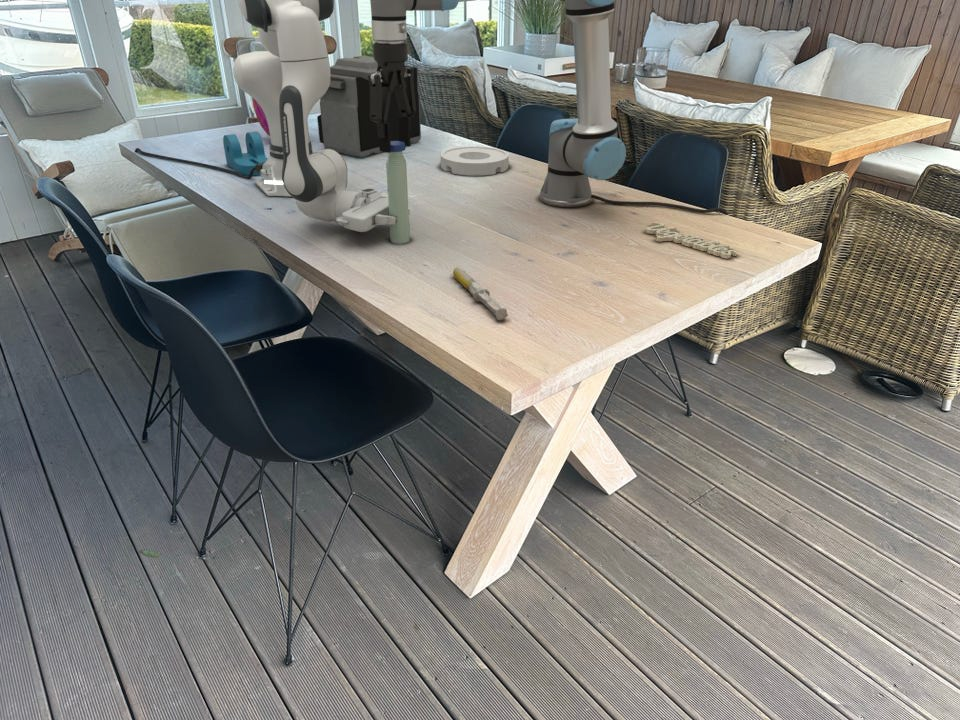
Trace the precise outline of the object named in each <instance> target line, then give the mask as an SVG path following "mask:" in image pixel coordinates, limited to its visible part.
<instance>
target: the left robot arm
mask: <svg viewBox="0 0 960 720" xmlns="http://www.w3.org/2000/svg"><path fill="white" fill-rule="evenodd" d="M237 4H238V7H239V10H240V12H241V14H242V15H243V17H244V19H245V21H246V22H247V23H249V24H250V25H251V26H252V27H254V28H257V35H258V40H259V42H260V43H261V45H262V46H263V47H264V49H265V50H259V51H258V50H256V51H250V52H246V53H242V54H239V55H238V56H237V57H236V58H235V60H234V62H233V66H232V75H233V78H234V81H235V83H236V85H237V86H238V88H239V89H240V90H241V91H243V92H244V93H246V94H247V95H248V96H250V97H251V98H252V97H253V98H254V99H255V100H256V101H257V102H258V104H259V105H260V106H261V108H262V110H263V111H264V114H265V116H266V119H267V123H268V127H269V132H270V136H269V137H270V142H269V143H268V145H269V146H268V147H269V157H267V158H268V159H267V161H266V162H262V163H259V164H255V165H256V167H254V168H252V170H251V172H250V175H243V174H240V173H238V172H237V171H235V170H233V169H228V168H225V167H220V166H217V165H212V164H207V163H204V162H198V161H193V160H187V159H182V158H177V157H171V156H167V155H166V156H165V155H160V154H156V153H151V152H148V151H142V149H141V148H139V147H136V148H135V150H134V153H140V154H142V155H144V156H150V157H152V158H153V157H154V158H158V159H164V160H168V161H175V162H179V163H186V164H190V165H195V166H201V167H205V168H210V169H214V170H218V171H221V172H225V173H230V174H232V175H236V176H238V177H240V178H241V179H242V178H243V179H246V180H250V179H251V178H253V176H254V175H253V172H254V171H255V170H256V172H257V173H260V174H261V175H260V177H261V178H260V179H257V180H255V183H256V186H257V187H259V189H260V190H261V191H262V192H263V193H264V194H265V195H266V196H268V197H292V198H294V199H295V202H296V206H297V209H298V210H299V212H301V214H303V215H304V216H306V217H308V218H310V219H314V220H317V221H321V222H327V223H333V222H335V223H336V224H339V225H342V226H343V228H345V229H346V230H347V229H348V230H349V231H355V232H360V233H365V232H369V231H370V230H372V229H373V228H375V227H377V226H378V225H390V224H395V223H397V216H393V215H390V216H389V204H388V191H378V190H377V188H372V187H371V188H370V187H369V188H366V189H360V190H357V189H354V190H350V189H347V188H348V166H347V165H348V164H347V162H346V160H345V159H344V157H343V156H342V154H341V153H339V152H336V151H335V150H333V149H325V148H324V149H321V150H318V151H315V152H313V145H312V141H311V140H310V131H309V123H308V119H309V115H310V113H311V111H312V110H313V108H314V107H315V106H316V104H317V103H318V102H319V101H320V98H321V97H322V96H323V95H324V94H325V93H326V91H327V90H328V88H329V86H330V77H331V72H330V67H331V64H330V59H329V53H328V48H327V43H326V39H325V35H324V32H323V28H322V26H321V23H320V22H321V21H325V20H327V19H330V17H331V16H332V15H333V13H334V9H335V7H334V6H335V0H237ZM408 212H409V216H410V215H411V214H410V209H409V208H408Z"/></svg>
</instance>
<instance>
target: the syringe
mask: <svg viewBox="0 0 960 720" xmlns="http://www.w3.org/2000/svg"><path fill="white" fill-rule="evenodd" d="M452 274H453V277H454V279H455V280H457V281H458V282H459V283H460V285H462V287H464V289H466V290H467V291H468V293H470V295H471V296H472V298H473V300H474V302H477V303H478V302H480V303H482V304H483V305H484V306H485V307H486V308H487V309H488V310H489V311H490V312H491V313H492V314H493V315H494V316H495V317H496V320H497V321H503V320H504V319H506V318H507V317H509V314H508V310H507V308H506V307H502V306H501V305H500V303H498V302H497V301H496V300H494V299H493V298H492V297H491V296H490V295H491V293H490V290H488V289H486V288H483V287H482V286H481V285H480V284H479V283H478V282H477V281H476V280H474V278H473V277H471V275H469V274H468V273H467V272H466V270H465V269H464V268H463V267H462V266H456V267H454V268H453V271H452Z"/></svg>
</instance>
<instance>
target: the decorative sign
mask: <svg viewBox="0 0 960 720" xmlns="http://www.w3.org/2000/svg"><path fill="white" fill-rule="evenodd" d="M650 225H651V226H647V227H646V229H645V233H646V234H650V235H655V236H656V239H655V242H667V241H668V242H673V243H676V244H681V245H682V246H686V247H689V248H690V247H691V248H692V249H695V250H699V251H701V252H707V254H710V255H713V256H715V257H720V258H722V259H731V256H733V257H736V256H737V253H738V252H737V251H736V250H735V249H730V247H731V246H730V244H725V243H724V244H723V243H722V244H720V243H721V242H720V241H718V240H716V241H715V240H714V241H713V240H711V241H705V240H704V238H703V237H701V236H697V235H696V236H695V235H693V234H688V235H686V234H683V233H678V232H677V227H675V226H667V227H665V223H662V222H655V221H651V224H650Z"/></svg>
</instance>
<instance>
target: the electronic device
mask: <svg viewBox="0 0 960 720" xmlns="http://www.w3.org/2000/svg"><path fill="white" fill-rule="evenodd" d="M377 66H378V63H377V62H376V61H375V60H374V56H367V55H356V56H353V57H350V58H349V57H343V58H342V57H341V58H337V59H336V60H335V63H334V64H333V65H330V72H331V77H330V86H329V88H328V90H327V91H326V93H325V94H324V95H323V96H322V97H321V98H320V99H319V110H320V111H319V112H320V114H319V115H317V116H316V119H317V128H318V138H319V143H320V144H323V146H324V149H333V150H335V151H336V152H338V153H339V154H344V155H348V156H353V157H357V158H362V159H363V158H366V157H367V158H368V157H369V155H371V154H375V155H377V154H381V153H382V152H381V151H380V145H379V137H378V129H377V123H376V122H373V121H371V120H370V84H369V80H368V74H374V73H376V72H377ZM405 66H406V68H413V69H414V76H413V82H414V92H415V103H416V112H415V113H414V117H410V126H411V129H410V144H416V143H418V142H419V141H421V137H422V128H421V97H420V92H419V91H420V89H419V68H418V67H417V66H408V65H405ZM386 88H387V87H386ZM410 107H411V106H410ZM400 116H401V114H400V110H399V106H398V103H397V99H396V96H395V92H394V90H393V92H392V93H391V97H390V104H389V111H388V117H387V123H390V141H399V120H398V117H400ZM401 117H402V116H401Z"/></svg>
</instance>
